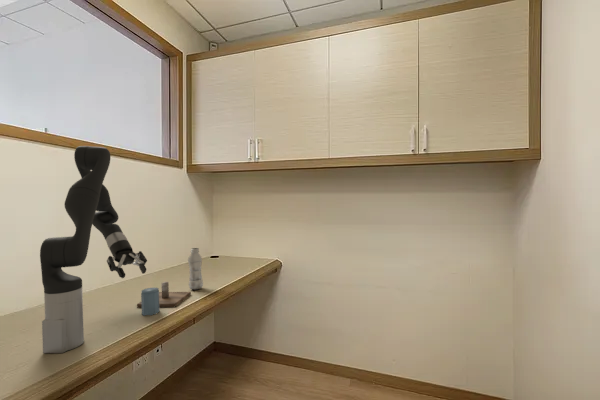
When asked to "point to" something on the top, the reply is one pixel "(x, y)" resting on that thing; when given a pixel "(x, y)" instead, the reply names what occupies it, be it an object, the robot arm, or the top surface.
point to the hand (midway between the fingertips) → (134, 274)
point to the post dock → (169, 297)
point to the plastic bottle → (195, 269)
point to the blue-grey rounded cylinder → (150, 301)
